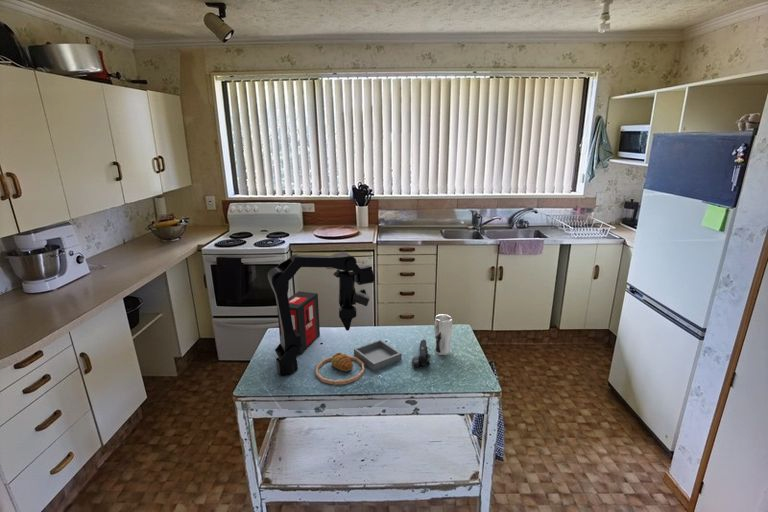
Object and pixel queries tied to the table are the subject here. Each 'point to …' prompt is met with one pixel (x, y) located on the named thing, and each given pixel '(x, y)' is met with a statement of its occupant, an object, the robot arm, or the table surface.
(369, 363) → the bin
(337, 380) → the socket ring
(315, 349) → the table surface
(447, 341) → the drink can
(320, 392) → the table surface
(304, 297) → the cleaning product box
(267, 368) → the table surface
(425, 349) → the can opener
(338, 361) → the pastry
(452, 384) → the table surface
